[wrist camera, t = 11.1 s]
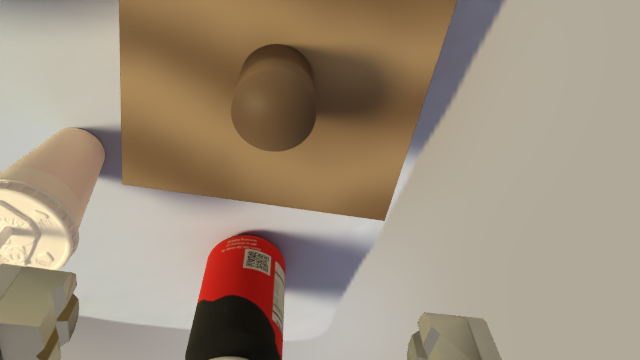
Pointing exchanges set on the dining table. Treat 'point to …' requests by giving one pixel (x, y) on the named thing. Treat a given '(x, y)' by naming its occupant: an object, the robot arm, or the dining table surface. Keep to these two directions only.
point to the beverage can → (240, 303)
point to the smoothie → (48, 199)
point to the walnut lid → (276, 97)
